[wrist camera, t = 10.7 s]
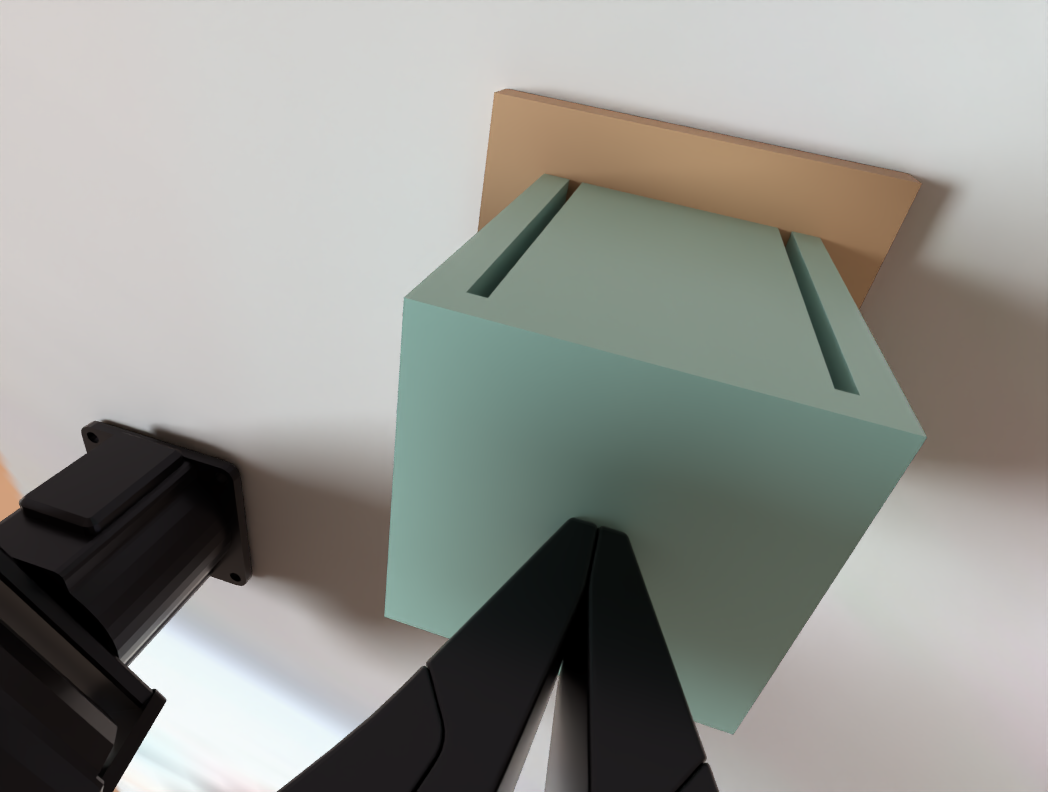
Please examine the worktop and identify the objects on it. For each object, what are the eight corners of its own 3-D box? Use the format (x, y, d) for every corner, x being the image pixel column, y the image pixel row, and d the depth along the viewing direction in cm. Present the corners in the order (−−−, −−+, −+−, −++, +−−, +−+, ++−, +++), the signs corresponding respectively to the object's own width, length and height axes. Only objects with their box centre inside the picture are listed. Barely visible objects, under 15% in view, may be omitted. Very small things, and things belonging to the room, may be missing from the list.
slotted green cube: (723, 459, 17) (733, 734, 10) (504, 397, 17) (384, 616, 11) (820, 237, 13) (926, 436, 7) (544, 173, 14) (403, 297, 8)
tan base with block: (756, 488, 18) (784, 757, 11) (465, 405, 19) (336, 607, 12) (908, 173, 13) (1114, 322, 6) (506, 88, 14) (331, 140, 8)
